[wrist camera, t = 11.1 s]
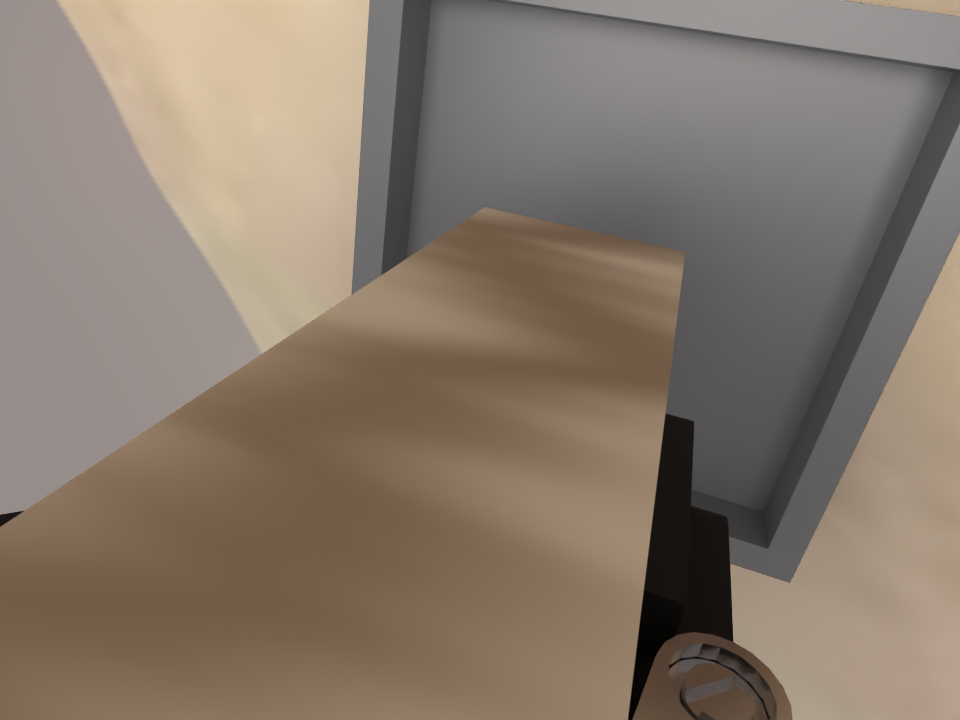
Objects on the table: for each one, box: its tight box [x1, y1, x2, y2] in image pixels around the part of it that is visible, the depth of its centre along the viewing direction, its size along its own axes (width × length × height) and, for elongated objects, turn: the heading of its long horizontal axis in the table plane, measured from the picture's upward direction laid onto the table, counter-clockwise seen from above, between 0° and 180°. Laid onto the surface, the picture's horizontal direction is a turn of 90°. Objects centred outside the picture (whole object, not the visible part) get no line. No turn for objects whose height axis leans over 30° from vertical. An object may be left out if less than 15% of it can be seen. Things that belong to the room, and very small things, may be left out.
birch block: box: [0, 207, 685, 720], centre depth 9 cm, size 4×6×12 cm, turn 172°
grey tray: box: [352, 0, 960, 583], centre depth 21 cm, size 16×16×3 cm
